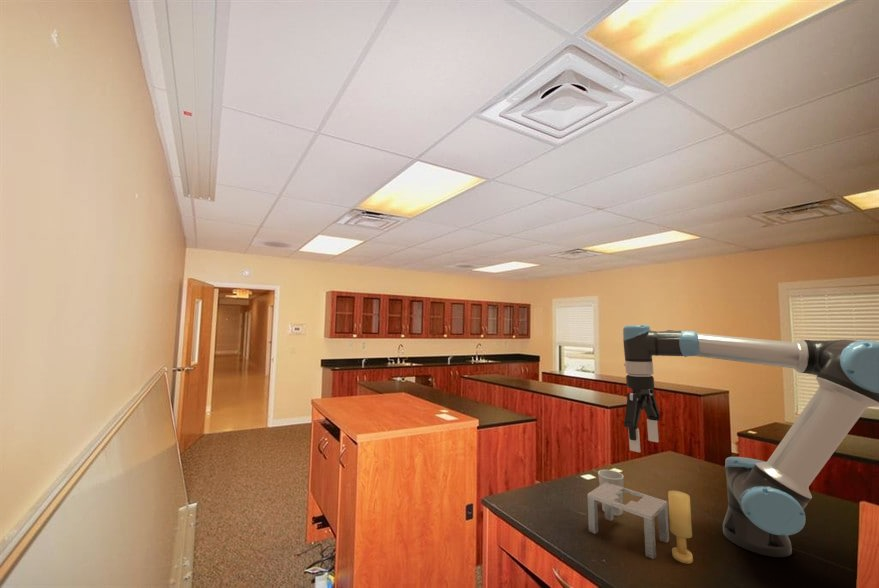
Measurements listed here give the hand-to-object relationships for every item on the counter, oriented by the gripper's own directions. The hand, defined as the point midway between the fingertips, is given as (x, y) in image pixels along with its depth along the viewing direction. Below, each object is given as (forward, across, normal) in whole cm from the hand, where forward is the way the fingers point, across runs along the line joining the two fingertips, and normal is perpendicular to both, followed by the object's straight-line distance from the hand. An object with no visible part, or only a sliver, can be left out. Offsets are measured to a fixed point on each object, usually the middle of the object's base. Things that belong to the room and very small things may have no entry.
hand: (644, 446), depth 109 cm
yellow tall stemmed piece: (+27, +3, +9) cm, 28 cm away
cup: (+27, -8, -15) cm, 32 cm away
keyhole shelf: (+26, +4, -5) cm, 27 cm away
